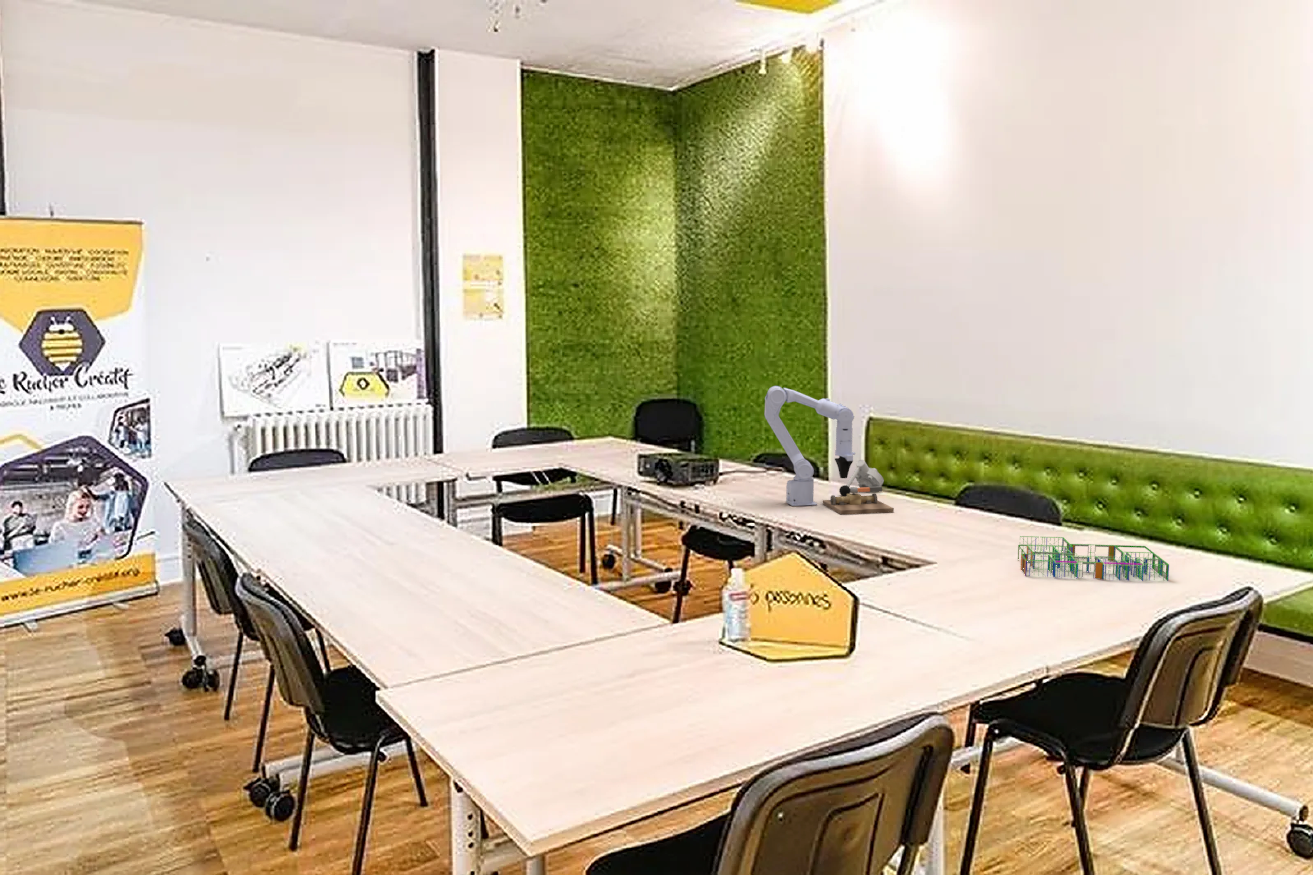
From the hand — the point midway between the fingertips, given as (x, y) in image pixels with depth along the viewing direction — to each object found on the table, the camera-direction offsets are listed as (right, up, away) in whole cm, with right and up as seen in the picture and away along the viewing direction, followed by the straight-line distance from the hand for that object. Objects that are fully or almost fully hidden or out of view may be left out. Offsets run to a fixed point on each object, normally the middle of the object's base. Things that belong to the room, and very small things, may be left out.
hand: (843, 478), depth 365 cm
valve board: (+3, -10, -7) cm, 13 cm away
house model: (+49, -21, -88) cm, 103 cm away
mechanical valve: (+10, -7, +22) cm, 25 cm away
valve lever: (+7, -5, -6) cm, 10 cm away
